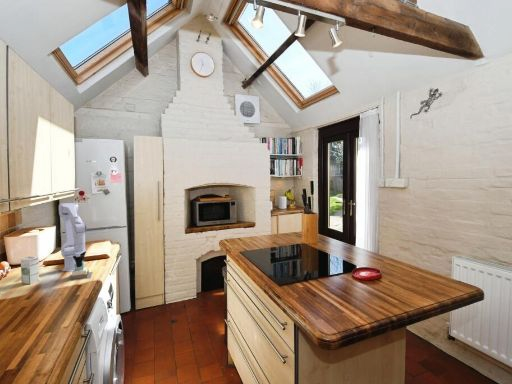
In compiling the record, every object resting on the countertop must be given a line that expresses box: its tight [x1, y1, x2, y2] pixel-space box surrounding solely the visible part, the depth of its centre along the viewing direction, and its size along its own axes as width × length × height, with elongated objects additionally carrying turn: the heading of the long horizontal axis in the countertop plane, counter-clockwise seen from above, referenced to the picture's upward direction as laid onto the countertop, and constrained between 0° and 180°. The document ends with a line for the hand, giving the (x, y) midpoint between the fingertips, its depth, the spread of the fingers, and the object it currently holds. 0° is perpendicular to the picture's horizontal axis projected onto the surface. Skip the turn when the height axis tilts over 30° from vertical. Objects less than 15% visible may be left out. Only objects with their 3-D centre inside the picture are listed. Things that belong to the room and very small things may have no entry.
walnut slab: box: [70, 269, 90, 280], centre depth 158 cm, size 8×8×2 cm
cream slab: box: [71, 266, 89, 276], centre depth 158 cm, size 7×7×2 cm
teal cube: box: [74, 260, 85, 271], centre depth 158 cm, size 4×4×4 cm
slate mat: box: [66, 271, 94, 283], centre depth 159 cm, size 12×12×1 cm
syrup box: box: [20, 256, 40, 285], centre depth 149 cm, size 6×6×14 cm
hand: (80, 265), depth 158 cm, fingers open, 6 cm apart
